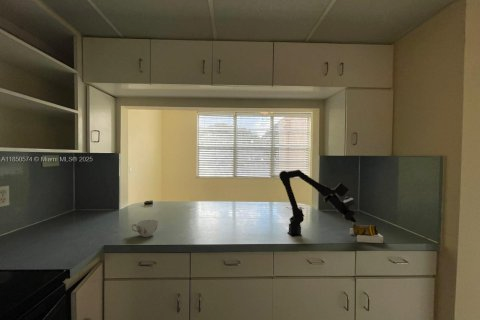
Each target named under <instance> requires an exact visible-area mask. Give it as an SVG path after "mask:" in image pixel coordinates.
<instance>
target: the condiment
mask: <svg viewBox="0 0 480 320" xmlns="http://www.w3.org/2000/svg"><path fill="white" fill-rule="evenodd" d="M351 223H352V224H351V225H352V228H353V232H354V235H353V237H354V238H357V235H367V236H373V235H378V233H379V229H378V226H377V225H372V224H364V225H357V222H355V223H354V222H352V221H351Z"/></svg>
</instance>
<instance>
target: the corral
mask: <svg viewBox="0 0 480 320" xmlns="http://www.w3.org/2000/svg"><path fill="white" fill-rule="evenodd" d="M349 234H350V235H353V236H354V232H353V227H352V228H350V227H349ZM356 242H359V243H371V244H372V243H373V244H374V243H375V244H383V243H384V236H383V235H382V234H380V233H379V232H378V235H373V236H367V235H357V237H356Z"/></svg>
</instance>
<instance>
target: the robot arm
mask: <svg viewBox="0 0 480 320" xmlns="http://www.w3.org/2000/svg"><path fill="white" fill-rule="evenodd" d="M278 175H279V176H278V177H279V179H280V181H281V182H282V184H283V187H284V188H285V192H286V194H287V198H288V201H289V204H290V206H291V210H292V211H291V212H292V216H291V217H290V218H289V219H288V220H289V224H288V231H287V234H288V235H290V236H291V237H300V236H301V237H302V235H303V234H302V226H301V223H302V222H304V220H305V219H304V217H305V214H304V212H303V209H302V207H300V208H299V206H298V203H297V200H296V198H295V194H294V191H293V188H292V186H291V179H293V178H299V179H301V180H302V181H304V182H305V183H307V184H308V185H310V186H312V188H314V189H315V190H316V192H318V193H319V194H320V195H321V196H323V202H324V203H327V202H328V203H329V204H330V205H331V206H332V208H334V209H335V210H336V212H337V213H338V214H339V215H341V217H343V218H344V219H345V220H346V221H350V222H351V223H352V222H354V223H357V220H356V219H355V217H354V215H355V214H356V212H355V211H354V210H353V209H351V208H350V207H351V206H353V205H356V204H357V203H356V202H355V199H354V198H353V197H349V196H346V194H348V193H349V192H350V189H349V188H348V187H347V186H345V185H344V184H343V183H342V182H339V183H338V184H337V185H336V186H335V187H334V188H332V187H328V186H326V185H325V184H322V183H320V182H317V181H316V180H315V179H313V178H312V177H310V176H308V175H307V174H305V173H304V172H303V171H302V170H300V169H296V170H289V171H286V170H281V171H280V172H279V173H278ZM343 197H344V199H343V200H342V199H340V198H343Z"/></svg>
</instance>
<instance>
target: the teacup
mask: <svg viewBox="0 0 480 320" xmlns="http://www.w3.org/2000/svg"><path fill="white" fill-rule="evenodd" d="M158 226H159V221H158V220H156V219H143V220H139V221H136V222H135V223H133V224H131V226H130V227H131V230H132V231H133V232H136V233H138V234H139V235H140V236H141V237H142V238H149V237H152V236H153V235H154V234H155V233H156V231H157V229H158ZM134 227H135V229H134Z"/></svg>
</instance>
